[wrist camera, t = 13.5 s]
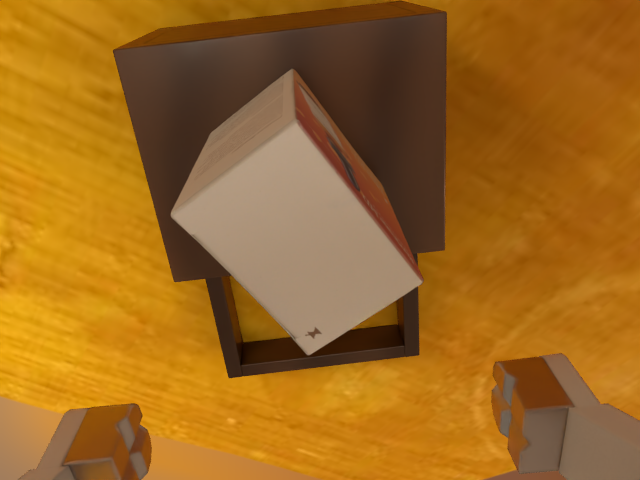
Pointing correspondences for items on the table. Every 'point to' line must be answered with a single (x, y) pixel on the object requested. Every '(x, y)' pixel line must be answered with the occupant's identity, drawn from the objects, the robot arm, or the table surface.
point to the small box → (297, 216)
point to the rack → (341, 105)
